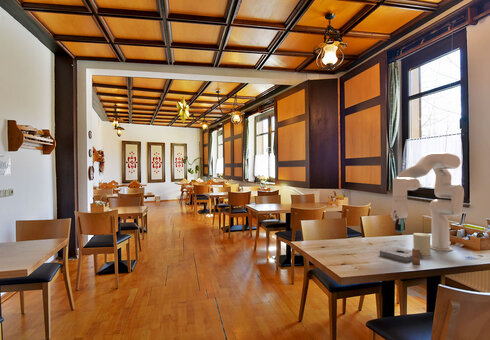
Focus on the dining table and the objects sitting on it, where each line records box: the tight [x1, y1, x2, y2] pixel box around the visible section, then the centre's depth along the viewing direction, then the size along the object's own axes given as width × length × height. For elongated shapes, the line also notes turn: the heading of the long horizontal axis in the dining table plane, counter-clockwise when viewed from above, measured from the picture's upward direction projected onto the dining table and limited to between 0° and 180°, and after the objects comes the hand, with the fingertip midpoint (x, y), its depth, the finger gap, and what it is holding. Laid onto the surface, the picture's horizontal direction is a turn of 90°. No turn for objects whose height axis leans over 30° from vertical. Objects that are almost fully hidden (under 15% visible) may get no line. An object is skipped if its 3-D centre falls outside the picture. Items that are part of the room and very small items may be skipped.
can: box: [412, 232, 432, 256], centre depth 177 cm, size 9×9×12 cm
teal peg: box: [396, 218, 404, 234], centre depth 170 cm, size 4×4×8 cm
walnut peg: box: [411, 247, 421, 266], centre depth 156 cm, size 4×4×8 cm
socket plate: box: [379, 246, 423, 264], centre depth 170 cm, size 16×16×3 cm
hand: (400, 229), depth 170 cm, fingers closed on teal peg, 3 cm apart
